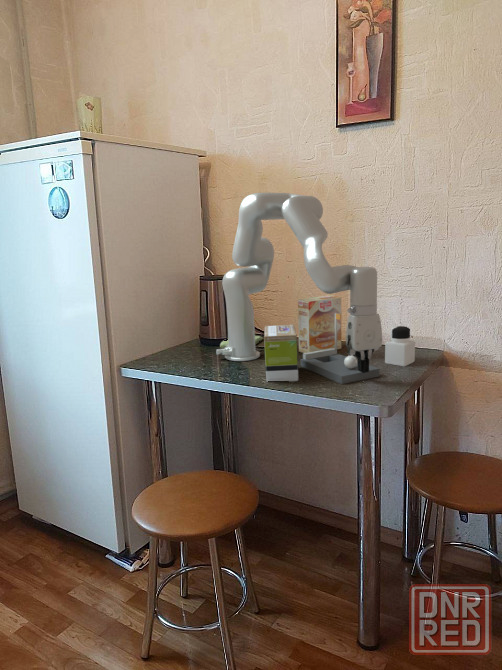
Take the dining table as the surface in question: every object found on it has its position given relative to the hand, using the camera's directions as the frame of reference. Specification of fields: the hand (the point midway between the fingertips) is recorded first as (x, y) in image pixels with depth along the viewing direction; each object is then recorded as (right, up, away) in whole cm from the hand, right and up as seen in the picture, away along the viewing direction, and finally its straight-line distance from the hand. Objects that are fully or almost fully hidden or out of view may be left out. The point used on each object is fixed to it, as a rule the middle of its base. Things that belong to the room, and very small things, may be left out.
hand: (363, 371), depth 155 cm
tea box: (-24, -2, +10) cm, 26 cm away
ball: (-3, +2, +5) cm, 6 cm away
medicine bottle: (+16, +1, +18) cm, 24 cm away
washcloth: (-37, +6, +53) cm, 65 cm away
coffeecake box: (-8, +5, +39) cm, 40 cm away
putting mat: (-5, -1, +12) cm, 13 cm away
